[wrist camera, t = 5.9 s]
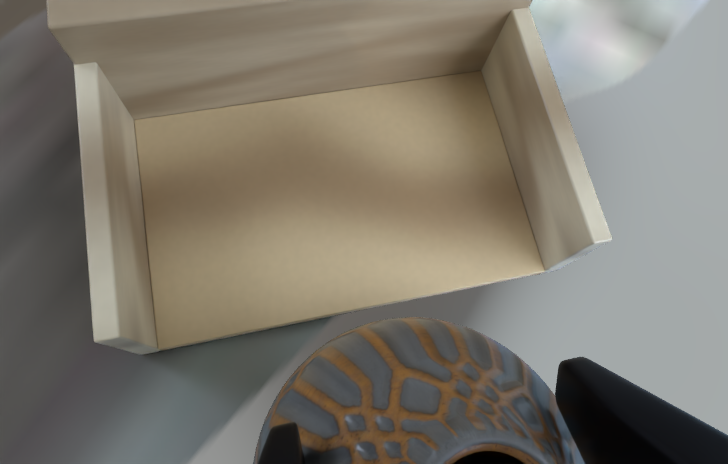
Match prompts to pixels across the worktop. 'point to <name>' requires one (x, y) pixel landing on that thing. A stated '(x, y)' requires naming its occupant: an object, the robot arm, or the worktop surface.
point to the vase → (420, 400)
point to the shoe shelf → (313, 159)
